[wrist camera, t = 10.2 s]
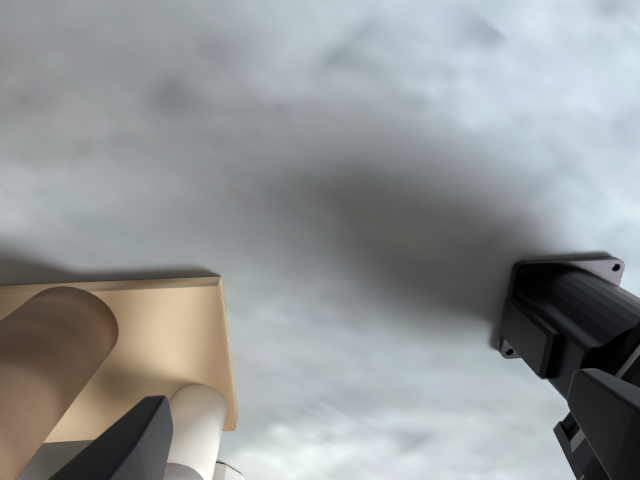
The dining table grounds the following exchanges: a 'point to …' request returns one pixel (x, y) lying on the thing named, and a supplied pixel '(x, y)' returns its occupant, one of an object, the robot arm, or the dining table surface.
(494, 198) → the dining table surface
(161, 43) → the dining table surface
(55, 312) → the pepper mill
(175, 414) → the salt shaker
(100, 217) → the dining table surface
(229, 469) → the white cup
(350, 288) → the dining table surface
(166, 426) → the robot arm
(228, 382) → the board
